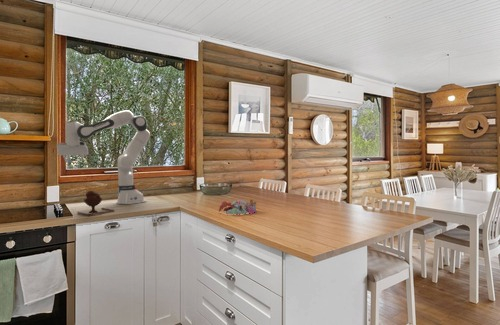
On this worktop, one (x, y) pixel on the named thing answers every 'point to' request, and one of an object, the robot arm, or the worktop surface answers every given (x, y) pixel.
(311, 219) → the worktop surface
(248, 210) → the coral reef ornament
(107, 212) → the walnut bay
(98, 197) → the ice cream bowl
